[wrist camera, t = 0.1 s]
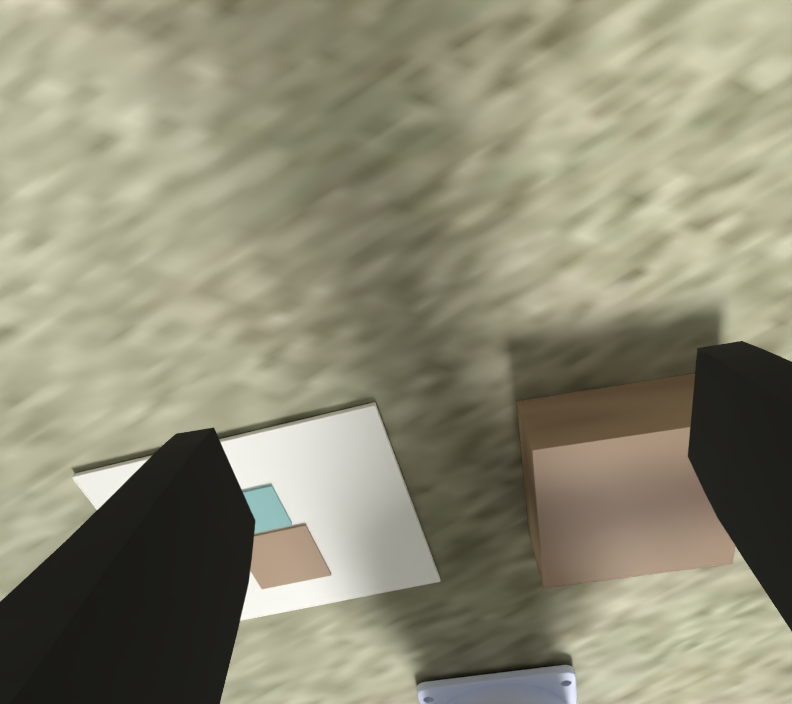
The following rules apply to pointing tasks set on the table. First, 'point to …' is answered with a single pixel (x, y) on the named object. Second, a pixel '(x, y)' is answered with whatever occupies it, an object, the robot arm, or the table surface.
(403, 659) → the table surface
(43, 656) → the robot arm
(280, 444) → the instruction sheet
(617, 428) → the brown block
